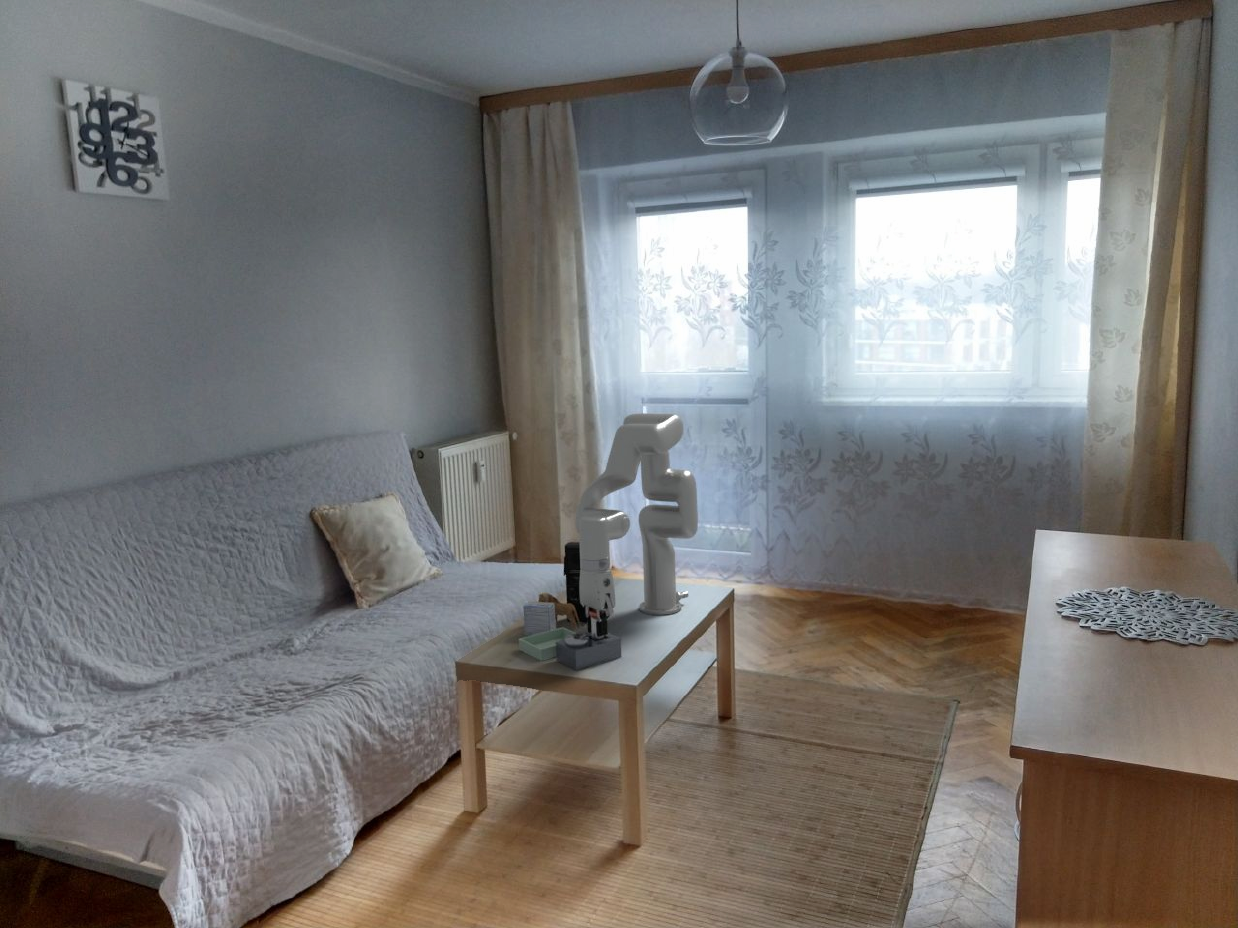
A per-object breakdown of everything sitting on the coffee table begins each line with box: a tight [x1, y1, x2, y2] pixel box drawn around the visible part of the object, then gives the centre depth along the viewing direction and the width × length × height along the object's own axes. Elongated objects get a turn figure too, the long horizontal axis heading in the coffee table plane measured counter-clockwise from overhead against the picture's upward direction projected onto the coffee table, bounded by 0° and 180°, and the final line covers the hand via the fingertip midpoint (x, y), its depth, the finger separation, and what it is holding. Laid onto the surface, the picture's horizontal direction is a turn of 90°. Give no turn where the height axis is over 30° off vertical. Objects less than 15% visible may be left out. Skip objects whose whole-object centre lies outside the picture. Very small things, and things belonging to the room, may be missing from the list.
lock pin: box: [589, 609, 604, 641], centre depth 234 cm, size 4×4×12 cm
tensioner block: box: [555, 632, 622, 671], centre depth 232 cm, size 14×9×7 cm, turn 127°
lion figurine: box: [537, 592, 585, 630], centre depth 260 cm, size 15×5×9 cm, turn 65°
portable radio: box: [563, 541, 588, 624], centre depth 263 cm, size 8×6×25 cm
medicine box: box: [522, 601, 557, 637], centre depth 253 cm, size 8×4×9 cm, turn 74°
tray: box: [518, 627, 577, 662], centre depth 241 cm, size 14×11×3 cm
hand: (597, 632), depth 234 cm, fingers closed on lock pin, 3 cm apart
